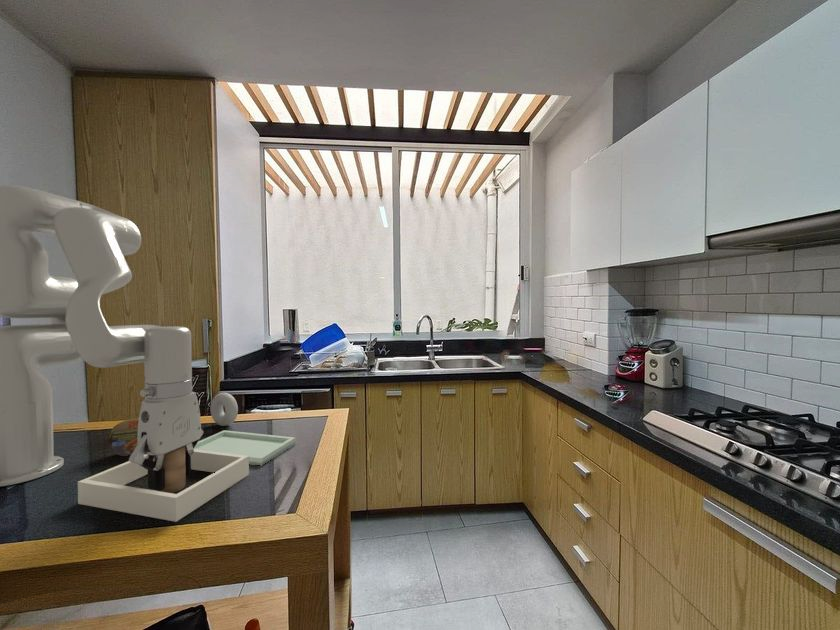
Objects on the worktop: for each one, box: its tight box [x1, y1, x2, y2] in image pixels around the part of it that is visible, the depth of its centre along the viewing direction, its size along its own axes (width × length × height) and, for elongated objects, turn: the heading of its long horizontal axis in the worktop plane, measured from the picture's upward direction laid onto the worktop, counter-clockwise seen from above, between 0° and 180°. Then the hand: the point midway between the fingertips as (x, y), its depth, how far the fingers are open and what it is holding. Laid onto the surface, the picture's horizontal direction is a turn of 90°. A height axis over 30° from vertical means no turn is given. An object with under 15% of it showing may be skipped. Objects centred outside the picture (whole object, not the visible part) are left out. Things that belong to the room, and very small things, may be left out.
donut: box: [209, 392, 239, 427], centre depth 106 cm, size 10×4×10 cm, turn 65°
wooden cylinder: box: [154, 446, 187, 494], centre depth 69 cm, size 5×5×8 cm
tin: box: [106, 417, 139, 457], centre depth 87 cm, size 15×3×8 cm, turn 114°
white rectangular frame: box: [77, 449, 250, 523], centre depth 69 cm, size 22×17×4 cm
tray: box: [194, 429, 296, 467], centre depth 88 cm, size 22×13×2 cm, turn 76°
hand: (170, 480), depth 69 cm, fingers closed on wooden cylinder, 5 cm apart
